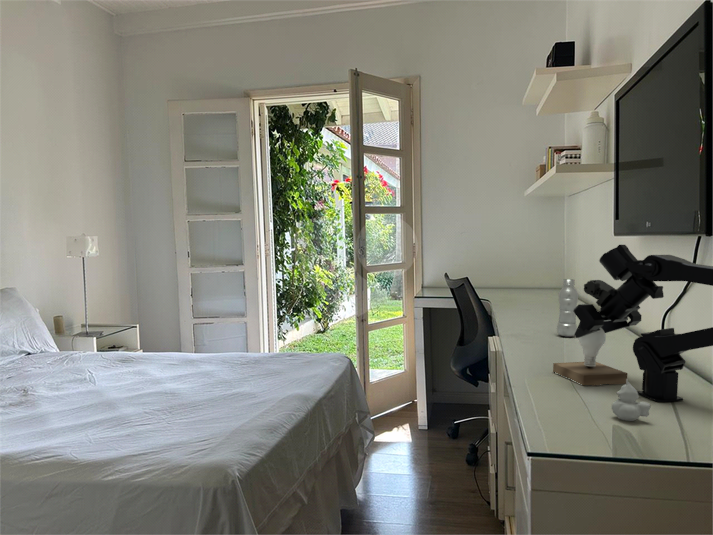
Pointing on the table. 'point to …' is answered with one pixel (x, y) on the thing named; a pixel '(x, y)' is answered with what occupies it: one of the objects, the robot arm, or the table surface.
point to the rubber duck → (629, 404)
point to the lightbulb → (592, 346)
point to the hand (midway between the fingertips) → (585, 335)
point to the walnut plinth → (590, 373)
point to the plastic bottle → (567, 309)
